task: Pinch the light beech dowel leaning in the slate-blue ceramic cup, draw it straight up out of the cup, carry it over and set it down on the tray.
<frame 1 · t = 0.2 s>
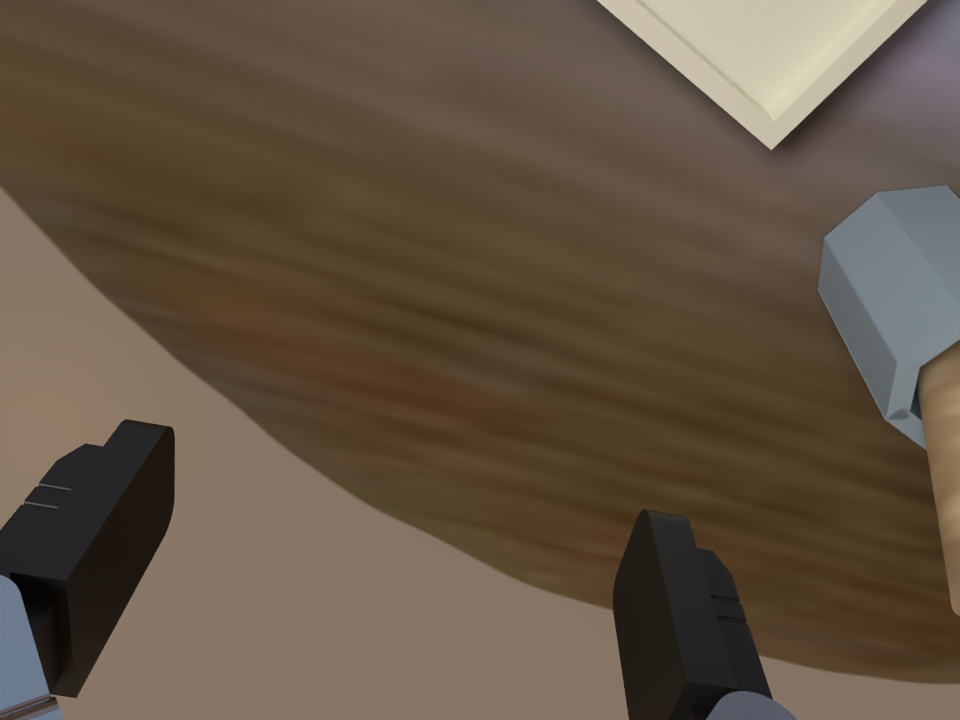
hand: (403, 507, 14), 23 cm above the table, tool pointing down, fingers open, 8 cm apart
cup: (898, 256, 36), on the table
pin: (925, 250, 35), point 1 cm above the table, touching cup
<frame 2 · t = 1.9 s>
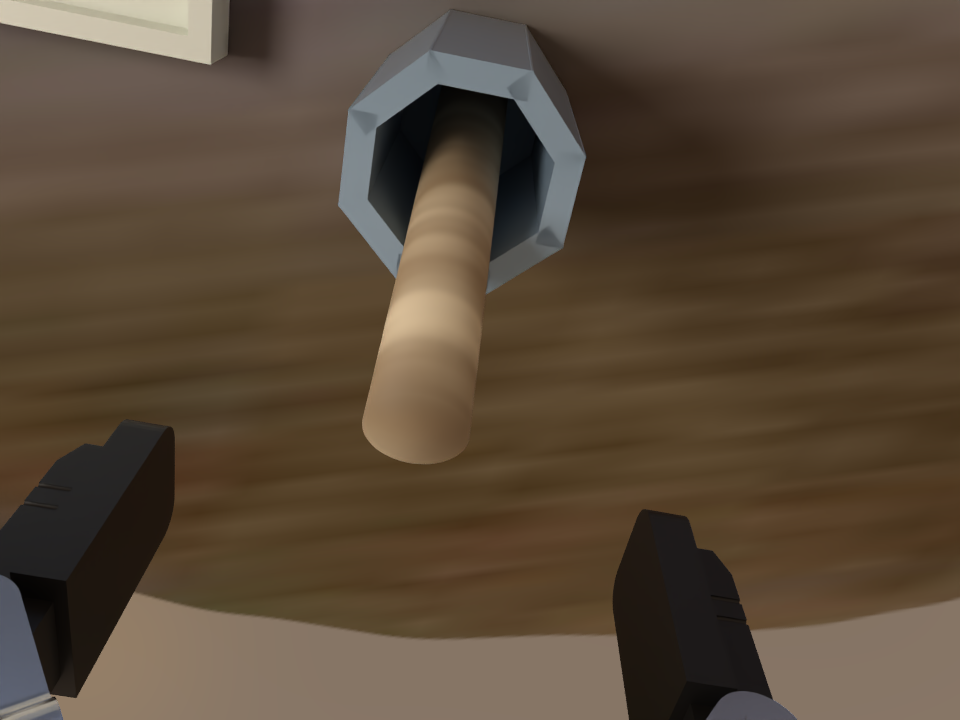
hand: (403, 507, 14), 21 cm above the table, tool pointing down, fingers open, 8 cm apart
cup: (471, 109, 31), on the table
pin: (475, 87, 30), point 1 cm above the table, touching cup
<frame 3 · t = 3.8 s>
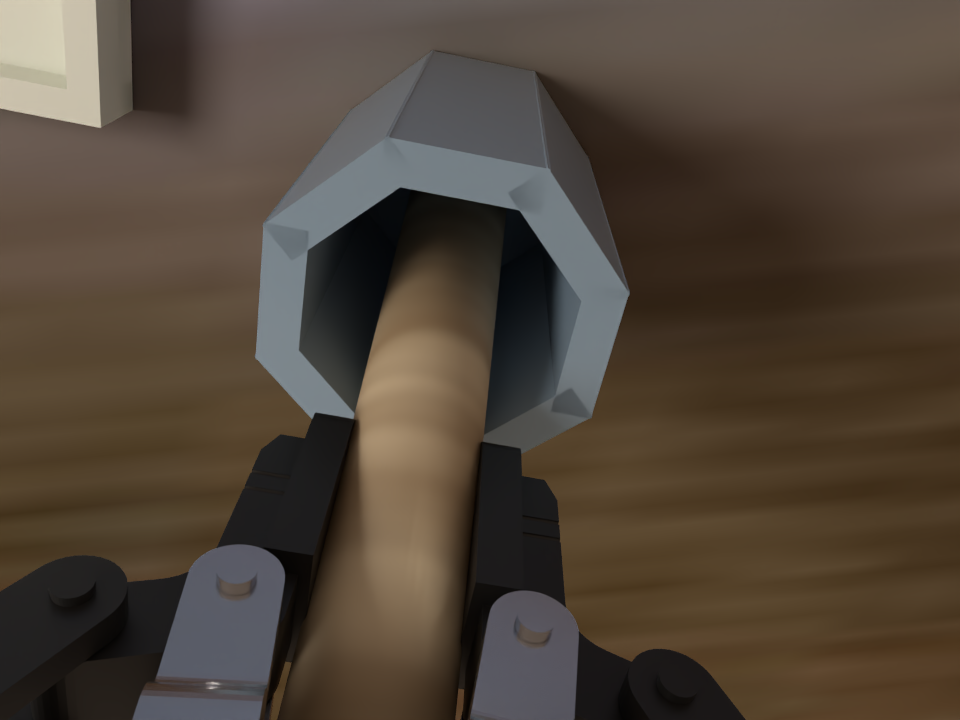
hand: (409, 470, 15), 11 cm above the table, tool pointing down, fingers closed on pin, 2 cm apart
cup: (461, 181, 23), on the table
pin: (466, 154, 22), point 1 cm above the table, touching cup, gripper
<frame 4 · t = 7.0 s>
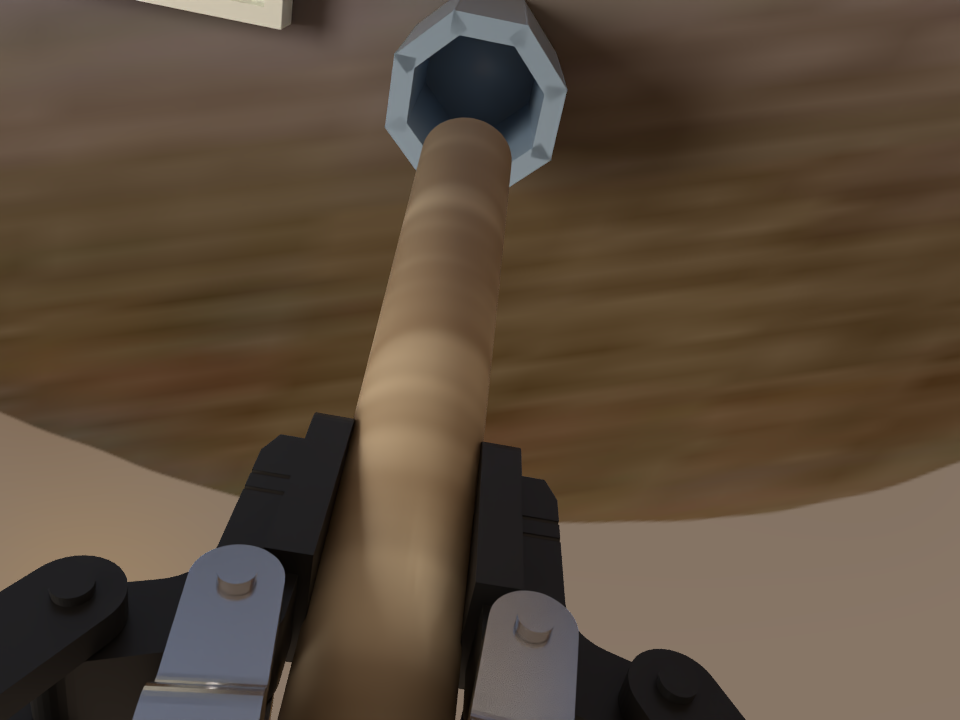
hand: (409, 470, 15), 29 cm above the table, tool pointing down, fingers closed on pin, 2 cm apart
cup: (481, 67, 39), on the table
pin: (467, 155, 22), point 19 cm above the table, touching gripper
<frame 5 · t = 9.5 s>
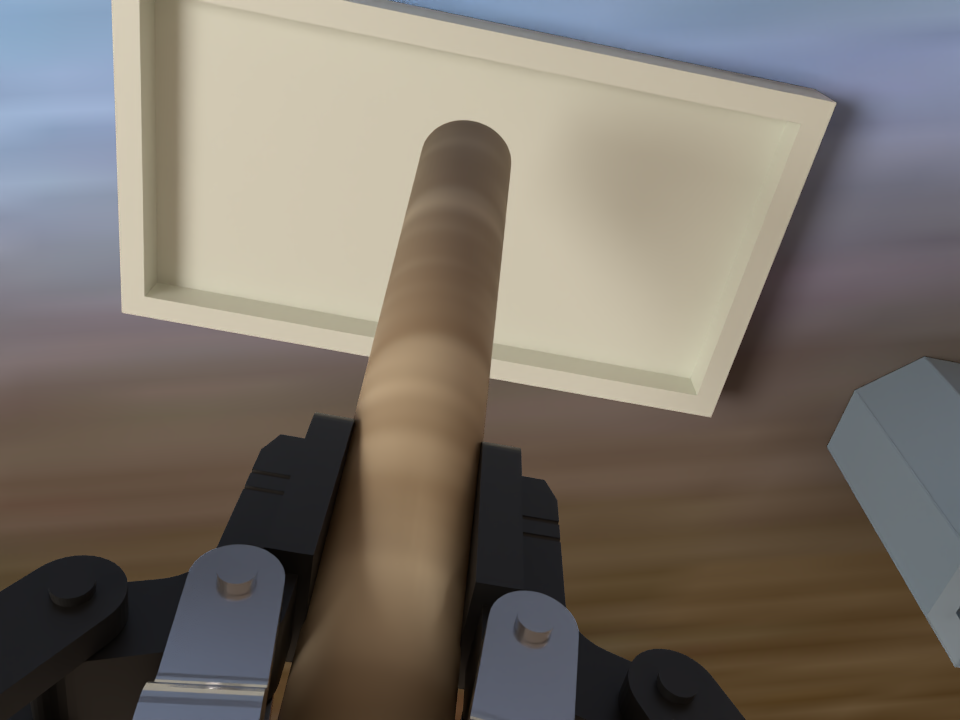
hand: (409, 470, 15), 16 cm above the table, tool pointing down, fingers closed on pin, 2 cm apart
cup: (919, 432, 33), on the table
tray: (454, 196, 28), on the table
pin: (466, 157, 22), point 6 cm above the table, touching gripper
when the fingers open (11 cm above the table, at t = 10.5 s): pin moves 4 cm and tips over, resting on tray.
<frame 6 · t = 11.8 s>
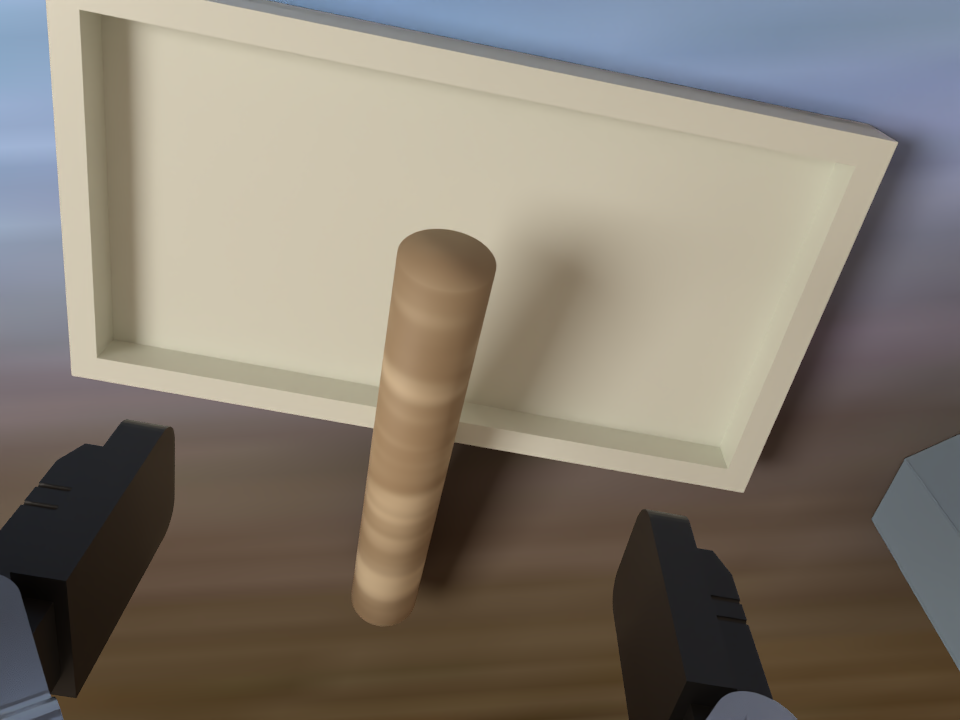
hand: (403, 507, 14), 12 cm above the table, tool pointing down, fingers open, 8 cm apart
tray: (451, 244, 25), on the table
pin: (449, 247, 19), point 5 cm above the table, tilted 91°, touching tray
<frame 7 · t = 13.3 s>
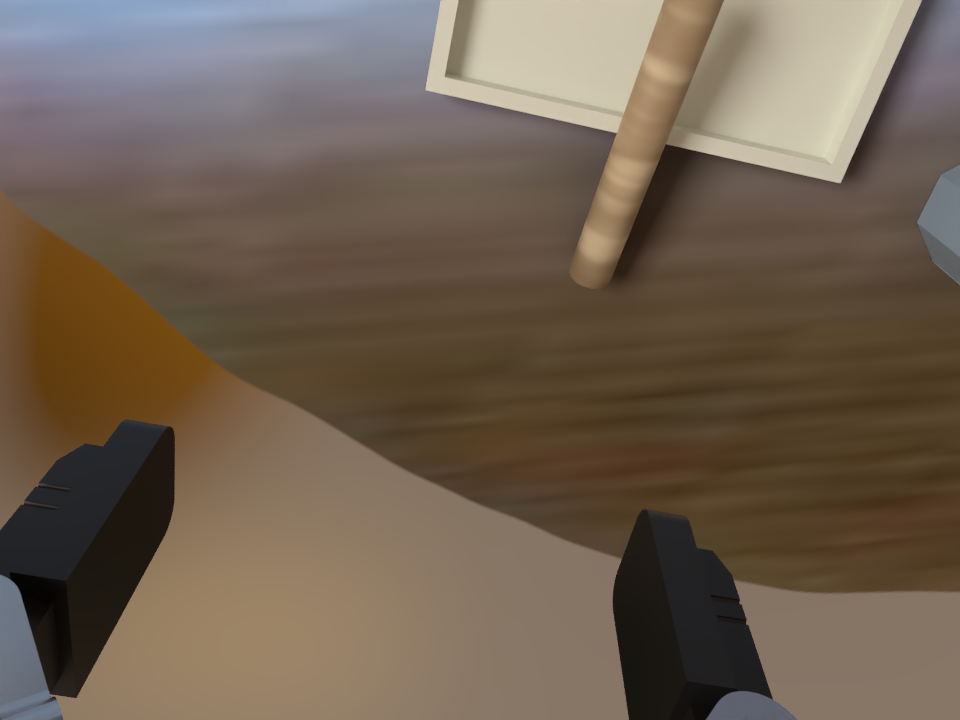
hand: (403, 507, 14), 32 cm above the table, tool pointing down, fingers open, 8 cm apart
tray: (667, 10, 40), on the table
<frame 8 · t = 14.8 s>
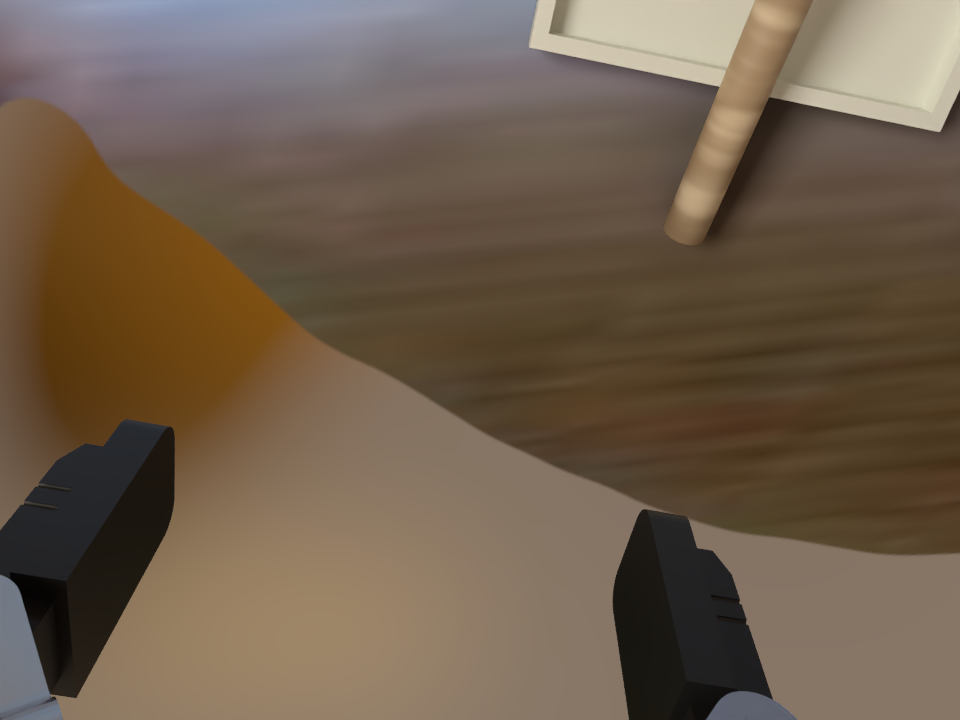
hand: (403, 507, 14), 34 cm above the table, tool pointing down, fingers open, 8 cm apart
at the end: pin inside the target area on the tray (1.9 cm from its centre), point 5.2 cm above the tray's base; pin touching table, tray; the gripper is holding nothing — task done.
